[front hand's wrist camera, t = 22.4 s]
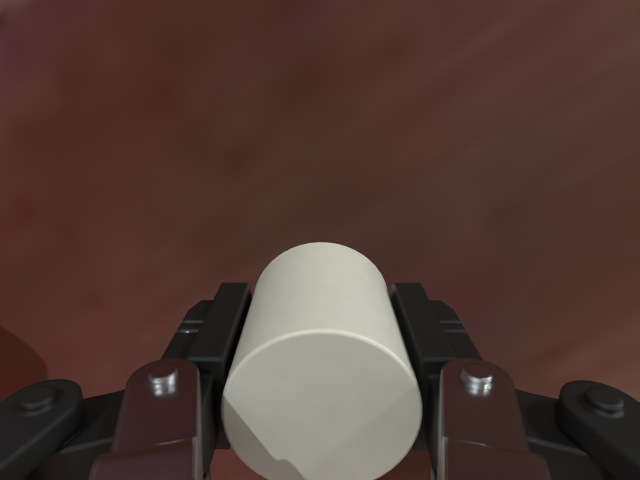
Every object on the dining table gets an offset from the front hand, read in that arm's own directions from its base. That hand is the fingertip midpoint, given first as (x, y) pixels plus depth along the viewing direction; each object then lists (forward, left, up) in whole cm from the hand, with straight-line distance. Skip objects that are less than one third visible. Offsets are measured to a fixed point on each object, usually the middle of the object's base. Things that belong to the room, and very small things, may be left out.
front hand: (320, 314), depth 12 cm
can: (0, 0, -1) cm, 1 cm away
